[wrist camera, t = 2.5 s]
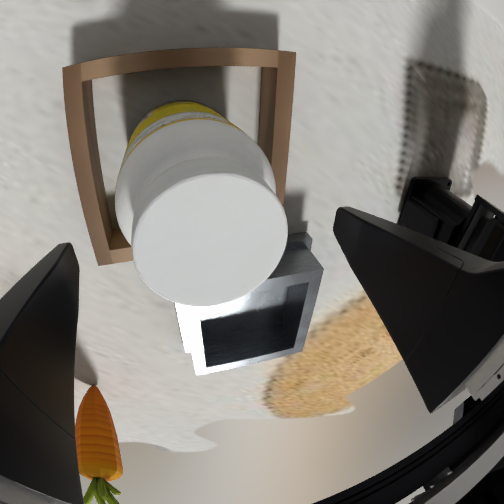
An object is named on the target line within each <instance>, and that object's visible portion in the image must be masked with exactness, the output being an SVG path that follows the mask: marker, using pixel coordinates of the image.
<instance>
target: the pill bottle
mask: <svg viewBox="0 0 504 504" xmlns="http://www.w3.org/2000/svg"><path fill="white" fill-rule="evenodd" d="M115 210H116V216H117V220H118V223H119V226H120V229H121V231H122V233H123V235H124V236H125V238H126V240H127V241H128V242H129V244H130V245H131V249H132V257H133V261H134V264H135V267H136V269H137V271H138V273H139V275H140V277H141V278H142V280H143V281H144V282H145V284H146V285H147V286H148V287H149V288H150V289H151V290H152V291H154V292H155V293H157V294H158V295H160V296H161V297H162V298H165V299H167V300H169V301H171V302H174V303H177V304H181V305H185V306H192V307H208V306H216V305H221V304H225V303H228V302H231V301H234V300H236V299H239V298H241V297H243V296H245V295H247V294H249V293H250V292H252V291H253V290H254V289H256V288H257V287H258V286H260V285H261V284H262V283H263V282H264V281H265V280H266V279H267V278H268V277H269V276H270V275H271V273H272V272H273V271H274V269H275V268H276V267H277V265H278V263H279V261H280V259H281V257H282V255H283V253H284V250H285V247H286V242H287V236H288V224H287V218H286V214H285V211H284V208H283V206H282V204H281V202H280V200H279V199H278V197H277V196H276V185H275V179H274V174H273V171H272V168H271V165H270V163H269V161H268V159H267V157H266V156H265V154H264V152H263V151H262V150H261V148H260V147H259V146H258V145H257V144H256V143H255V142H254V141H253V139H252V138H250V137H249V136H248V135H247V134H245V133H244V132H243V131H242V130H240V129H239V128H238V127H236V126H235V125H233V124H232V123H231V122H229V121H228V120H227V119H225V118H224V117H222V116H221V115H219V114H218V113H217V112H215V111H214V110H212V109H211V108H209V107H207V106H205V105H203V104H200V103H197V102H193V101H185V100H180V101H172V102H168V103H165V104H162V105H160V106H158V107H156V108H154V109H152V110H151V111H150V112H148V113H147V114H146V115H145V116H144V117H143V118H142V119H141V120H140V121H139V123H138V124H137V126H136V127H135V129H134V131H133V133H132V135H131V137H130V140H129V143H128V146H127V149H126V152H125V155H124V158H123V162H122V165H121V168H120V172H119V175H118V179H117V184H116V190H115Z"/></svg>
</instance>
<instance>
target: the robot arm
mask: <svg viewBox="0 0 504 504" xmlns="http://www.w3.org/2000/svg"><path fill="white" fill-rule="evenodd" d="M451 184H452V181H451V180H450V179H449V178H436V177H414V178H412V180H411V182H410V186H409V190H408V193H407V197H406V201H405V204H404V208H403V211H402V214H401V218H400V221H399V224H395V223H393V222H390V221H387V220H385V219H382V218H379V217H377V216H374V215H371V214H368V213H366V212H363V211H360V210H357V209H354V208H351V207H339V208H338V209H337V211H336V216H335V221H334V226H333V232H334V235H335V237H336V239H337V241H338V243H339V245H340V247H341V249H342V251H343V253H344V255H345V257H346V259H347V261H348V263H349V265H350V267H351V269H352V270H353V272H354V274H355V275H356V277H357V279H358V280H359V282H360V283H361V285H362V287H363V289H364V290H365V292H366V294H367V295H368V297H369V299H370V300H371V302H372V304H373V306H374V307H375V309H376V311H377V313H378V314H379V316H380V318H381V320H382V321H383V323H384V325H385V327H386V329H387V330H388V332H389V334H390V336H391V338H392V339H393V341H394V343H395V345H396V347H397V349H398V351H399V353H400V354H401V356H402V358H403V360H404V362H405V364H406V366H407V368H408V370H409V372H410V374H411V376H412V378H413V380H414V382H415V384H416V386H417V388H418V390H419V392H420V394H421V396H422V398H423V400H424V403H425V405H426V407H427V409H428V411H429V412H430V413H433V412H434V411H436V410H437V409H438V408H440V407H441V406H442V405H444V404H446V403H447V402H448V401H450V400H451V399H453V398H454V397H455V396H457V395H458V394H459V393H460V392H462V391H463V390H465V389H466V388H467V390H468V391H469V393H470V394H471V396H470V397H469V398H468V399H466V400H465V401H464V402H463V403H462V404H461V405H459V406H458V407H457V408H456V409H455V413H454V421H453V425H452V426H451V427H450V428H448V429H447V430H446V431H444V432H443V433H442V434H441V435H439V436H438V437H436V438H435V439H433V440H432V441H431V442H429V443H428V444H426V445H425V446H423V447H422V448H420V449H419V450H417V451H416V452H414V453H413V454H411V455H409V456H408V457H407V458H405V459H403V460H401V461H400V462H398V463H396V464H395V465H393V466H391V467H389V468H388V469H386V470H384V471H382V472H381V473H379V474H377V475H375V476H373V477H371V478H369V479H367V480H365V481H363V482H361V483H359V484H357V485H355V486H353V487H351V488H349V489H346V490H344V491H342V492H340V493H338V494H335V495H333V496H331V497H328V498H326V499H323V500H321V501H318V502H316V503H313V504H395V503H397V502H399V501H400V500H401V499H403V498H405V497H406V496H408V495H410V494H411V493H413V492H414V491H416V490H417V489H419V488H420V487H421V486H423V487H424V489H425V492H423V493H422V494H419V495H417V496H415V497H414V498H412V499H411V501H412V502H411V503H409V504H504V212H502V211H501V210H500V209H498V208H497V207H495V206H494V205H492V204H491V203H490V202H488V201H487V200H485V199H483V198H482V197H480V196H479V195H476V198H475V202H474V204H473V206H470V205H469V204H468V203H466V202H465V201H463V200H462V199H461V198H459V197H458V196H456V195H455V194H453V193H452V192H450V191H449V190H450V187H451ZM494 215H496V216H495V218H493V216H494ZM79 272H80V270H79V264H78V261H77V258H76V255H75V252H74V249H73V246H72V244H71V243H62V244H59V245H57V246H56V247H55V248H54V249H53V250H52V251H51V252H49V253H48V254H47V255H46V256H45V257H44V258H43V259H42V260H40V261H39V262H38V263H37V264H36V265H35V266H34V267H33V268H32V269H31V270H30V271H29V272H27V273H26V274H25V275H24V276H23V277H22V278H21V279H20V280H19V281H18V282H17V283H16V284H15V285H14V286H13V287H12V288H11V289H10V290H9V291H8V292H7V293H6V294H5V295H4V296H3V297H2V298H1V299H0V504H84V501H83V495H82V489H81V483H80V476H79V467H78V459H77V448H76V440H75V439H76V437H75V419H74V365H75V346H76V333H77V322H78V311H79Z"/></svg>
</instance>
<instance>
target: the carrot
mask: <svg viewBox="0 0 504 504" xmlns="http://www.w3.org/2000/svg"><path fill="white" fill-rule="evenodd" d="M75 437H76V439H75V440H76V448H77V459H78V467H79V473H80V474H81V475H82V476H84V477H86V478H88V479H91V480H92V481H91V484H90V486H89V488H88V490H87V492H86V494H85V496H84V498H83V501H84V504H90V503H91V501H92V499H93V496H94V495H95V498H96V500H97V502H98V504H106V503H105V501H106V500H107V502H108V503H109V504H119V503H118V501H117V500H116V499H115V498H114V496H113V495H112V493H114V494H116V495H120V494H121V492H119V491H118V490H117V489H116V488H114V487H113V486H112V485H111V484H109V483H108V482H107V481H112V480H115V479H118V478H119V477H121V476H122V473H123V467H122V461H121V455H120V450H119V444H118V439H117V434H116V431H115V427H114V423H113V420H112V417H111V413H110V411H109V408H108V406H107V404H106V401H105V400H104V398H103V396H102V394H101V392H100V391H99V389H98V388H97V387H96V386H95V385H93V386H91V387H90V388H89V389H88V391H87V393H86V394H85V396H84V397H83V400H82V402H81V404H80V406H79V410H78V414H77V419H76V424H75ZM110 491H111V492H112V493H111V492H110ZM104 500H105V501H104Z"/></svg>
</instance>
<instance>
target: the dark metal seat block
mask: <svg viewBox="0 0 504 504" xmlns="http://www.w3.org/2000/svg"><path fill="white" fill-rule="evenodd" d="M311 244H312V238H311V237H310V236H309V234H308V233H307V232H306V233H299V234H291V235H288V236H287V242H286V247H285V250H284V253H283V255H282V257H281V259H280V261H279V263H278V265H277V267H276V268H275V269H274V271H273V272H272V273H271V275H270V276H269V277H268V278H267V279H266V280H265V281H264V282H263V283H262V284H261V285H260V286H258V287H257V288H256V289H254V290H253V291H252V292H250V293H249V294H247V295H245V296H243V297H241V298H239V299H236V300H234V301H231V302H228V303H225V304H221V305H216V306H208V307H192V306H185V305H181V304H177V303H175V304H176V310H177V315H178V320H179V325H180V329H181V334H182V339H183V343H184V348H185V352H186V353H189V352H191V355H192V360H193V364H194V369H195V373H196V376H197V375H202V374H207V373H213V372H218V371H223V370H227V369H232V368H237V367H241V366H246V365H250V364H254V363H259V362H263V361H267V360H271V359H275V358H279V357H283V356H286V355H290V354H294V353H297V352H301V351H302V350H303V347H304V343H305V340H306V336H307V332H308V329H309V325H310V321H311V318H312V314H313V310H314V306H315V302H316V298H317V294H318V290H319V286H320V282H321V278H322V274H323V270H324V268H323V267H322V266H321V264H320V263H319V262H318V260H317V259H316V258H315V256H314V255H313V254H312V253H311V251H310V250H311Z"/></svg>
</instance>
